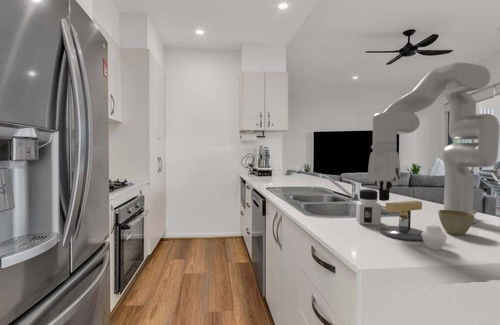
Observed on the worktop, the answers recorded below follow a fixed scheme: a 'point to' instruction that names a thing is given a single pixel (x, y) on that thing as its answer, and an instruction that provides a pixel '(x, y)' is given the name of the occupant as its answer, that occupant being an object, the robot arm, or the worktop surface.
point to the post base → (402, 235)
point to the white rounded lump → (433, 237)
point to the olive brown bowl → (456, 221)
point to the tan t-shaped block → (403, 207)
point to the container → (368, 208)
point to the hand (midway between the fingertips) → (384, 200)
